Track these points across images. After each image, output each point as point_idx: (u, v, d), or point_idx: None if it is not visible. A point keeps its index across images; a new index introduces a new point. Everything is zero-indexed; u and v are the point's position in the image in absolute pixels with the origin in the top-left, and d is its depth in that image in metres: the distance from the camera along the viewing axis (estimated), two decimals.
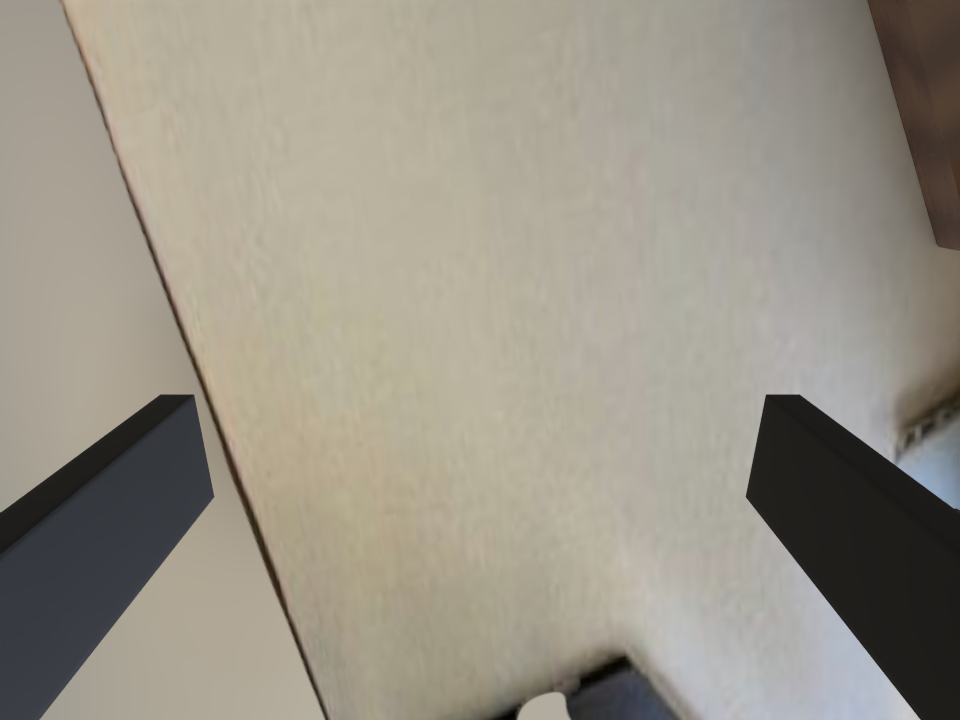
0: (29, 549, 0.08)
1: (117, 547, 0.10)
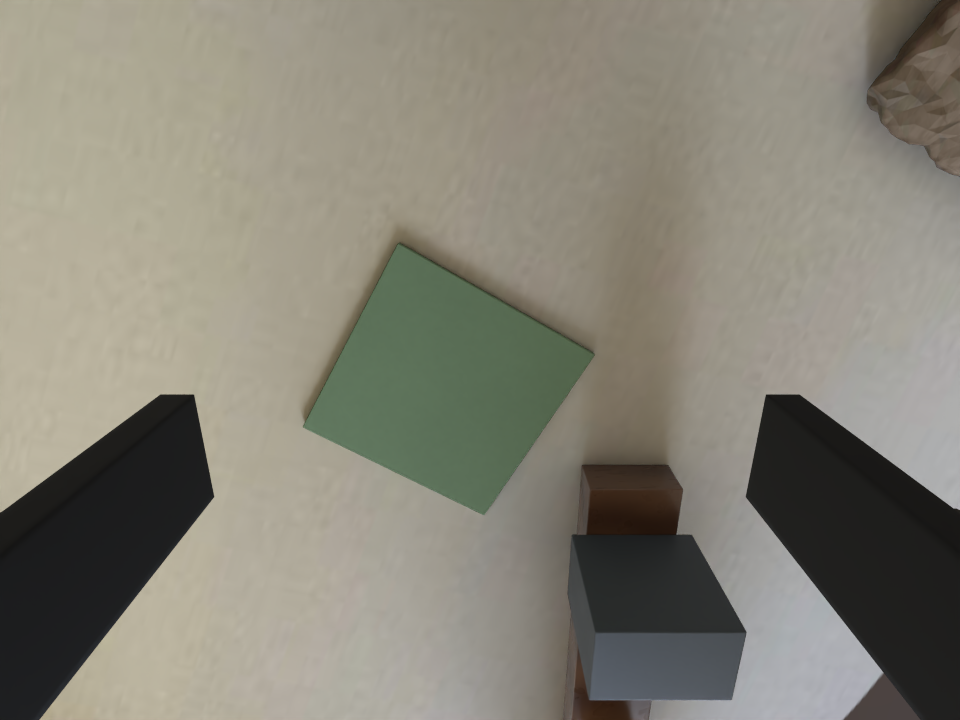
0: (29, 549, 0.08)
1: (117, 547, 0.10)
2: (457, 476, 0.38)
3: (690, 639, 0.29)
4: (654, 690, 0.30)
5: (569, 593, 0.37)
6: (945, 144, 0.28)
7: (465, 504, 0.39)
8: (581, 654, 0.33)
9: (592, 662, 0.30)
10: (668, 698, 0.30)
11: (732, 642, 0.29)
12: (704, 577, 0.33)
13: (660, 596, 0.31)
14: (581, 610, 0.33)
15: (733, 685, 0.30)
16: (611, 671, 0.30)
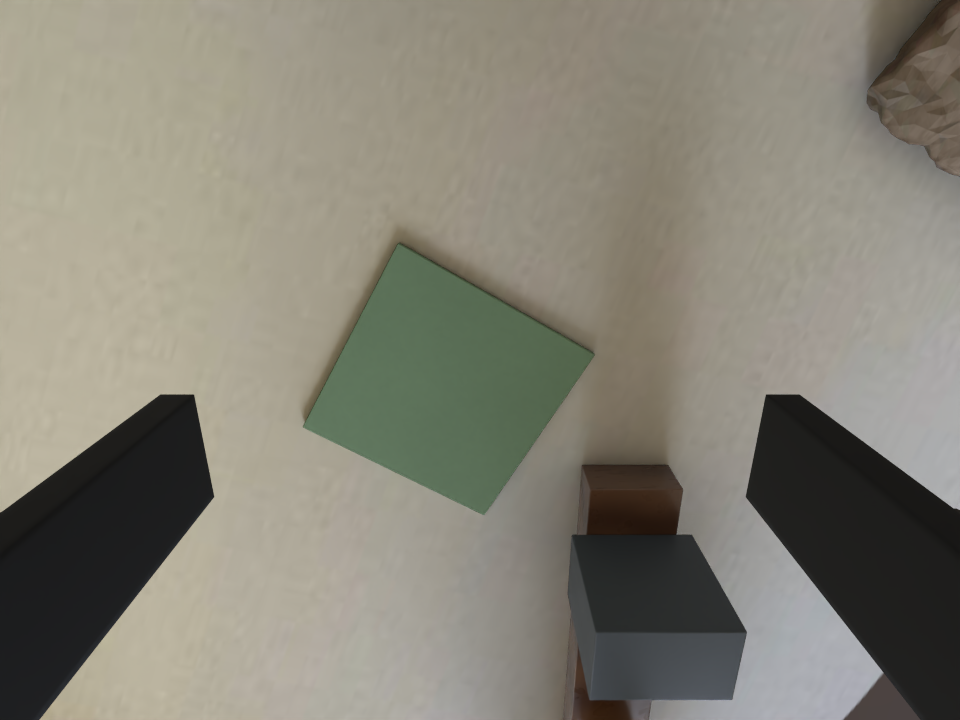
0: (29, 549, 0.08)
1: (117, 547, 0.10)
2: (457, 476, 0.38)
3: (691, 639, 0.29)
4: (654, 690, 0.30)
5: (569, 593, 0.37)
6: (945, 144, 0.28)
7: (465, 504, 0.39)
8: (581, 654, 0.33)
9: (592, 662, 0.30)
10: (668, 698, 0.30)
11: (732, 642, 0.29)
12: (704, 577, 0.33)
13: (660, 596, 0.31)
14: (581, 610, 0.33)
15: (733, 685, 0.30)
16: (611, 671, 0.30)
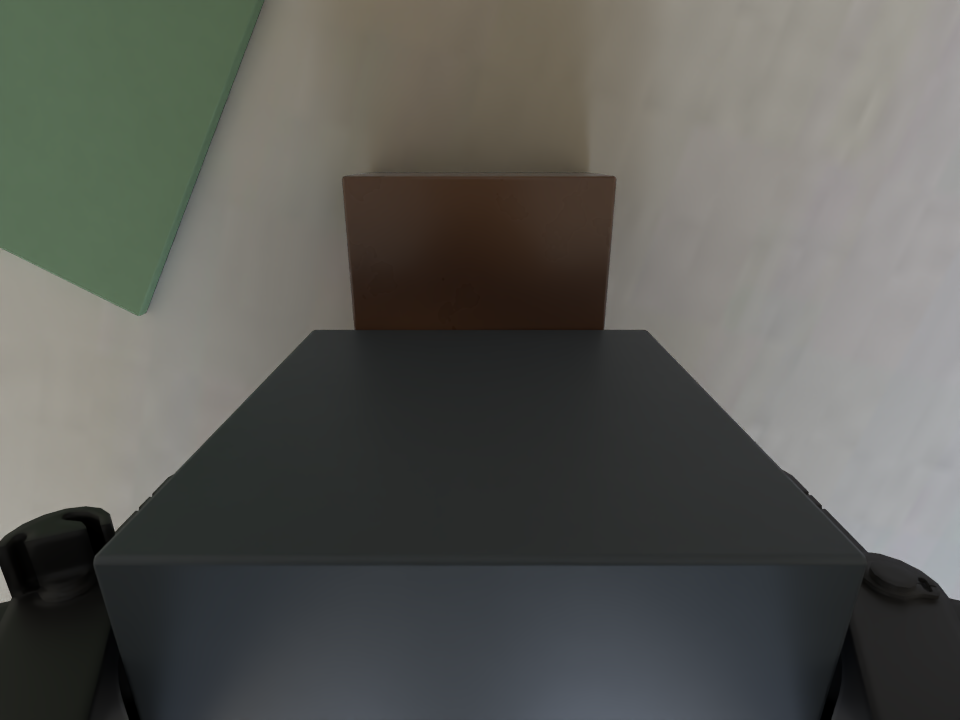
0: None
1: None
2: (43, 200, 0.15)
3: (583, 600, 0.06)
4: None
5: None
6: None
7: (84, 284, 0.15)
8: None
9: (137, 709, 0.06)
10: None
11: (793, 614, 0.06)
12: (672, 397, 0.09)
13: (493, 441, 0.08)
14: None
15: None
16: None
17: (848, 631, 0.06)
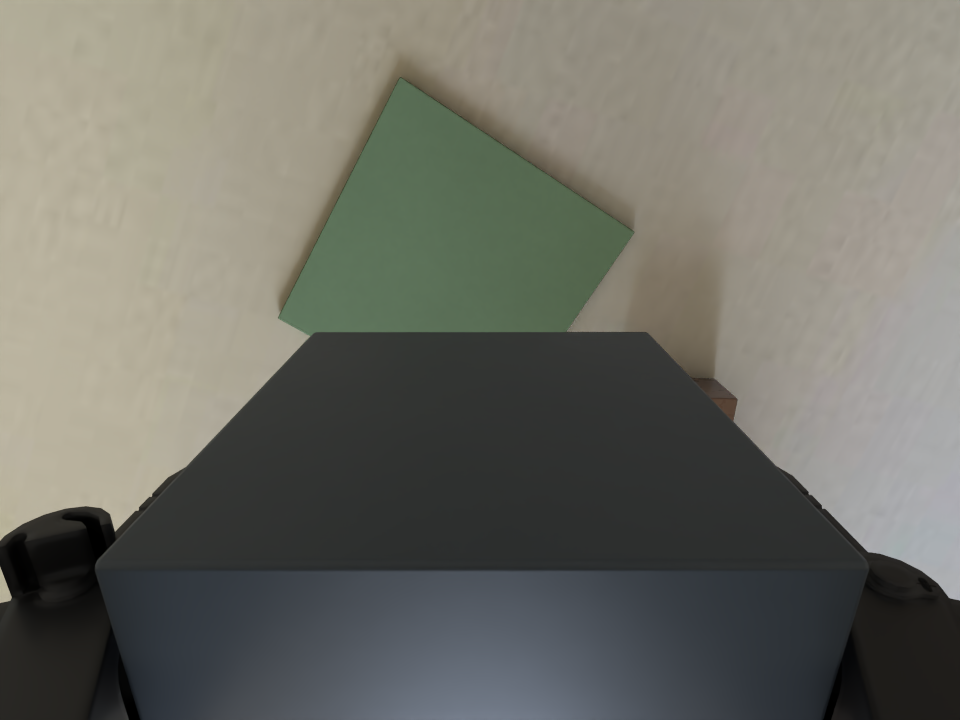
0: None
1: None
2: None
3: (585, 606, 0.06)
4: None
5: None
6: None
7: None
8: None
9: (138, 713, 0.06)
10: None
11: (796, 619, 0.06)
12: (674, 400, 0.09)
13: (494, 444, 0.08)
14: None
15: None
16: None
17: None
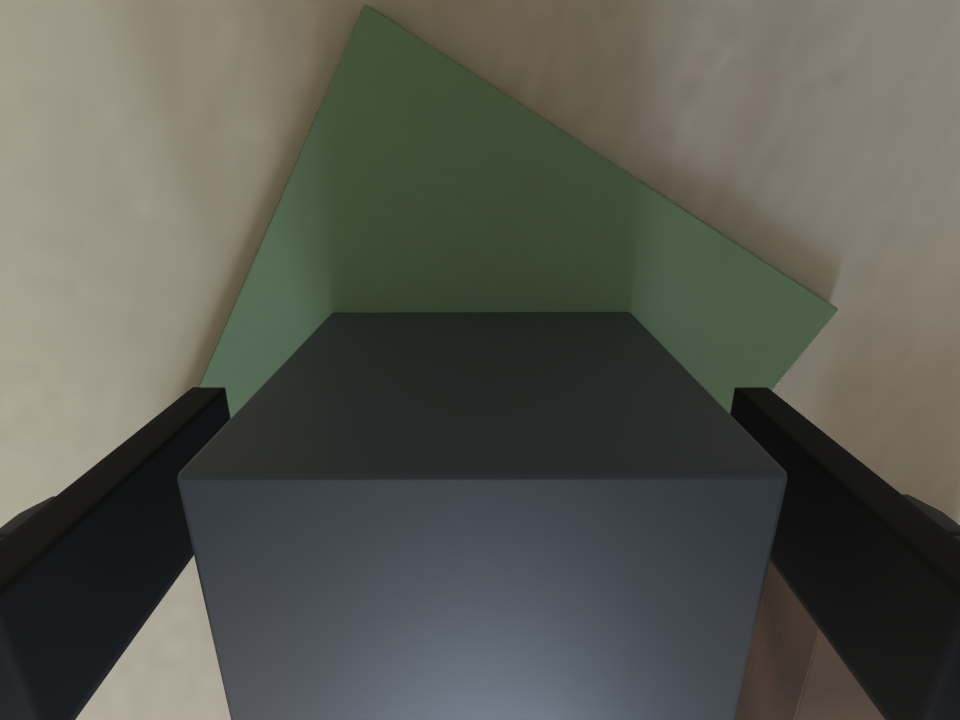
0: (85, 530, 0.08)
1: (159, 532, 0.10)
2: None
3: (563, 509, 0.07)
4: (455, 707, 0.09)
5: None
6: None
7: None
8: None
9: (205, 604, 0.08)
10: None
11: (731, 520, 0.07)
12: (647, 364, 0.11)
13: (492, 395, 0.09)
14: None
15: (735, 689, 0.08)
16: (281, 638, 0.08)
17: None
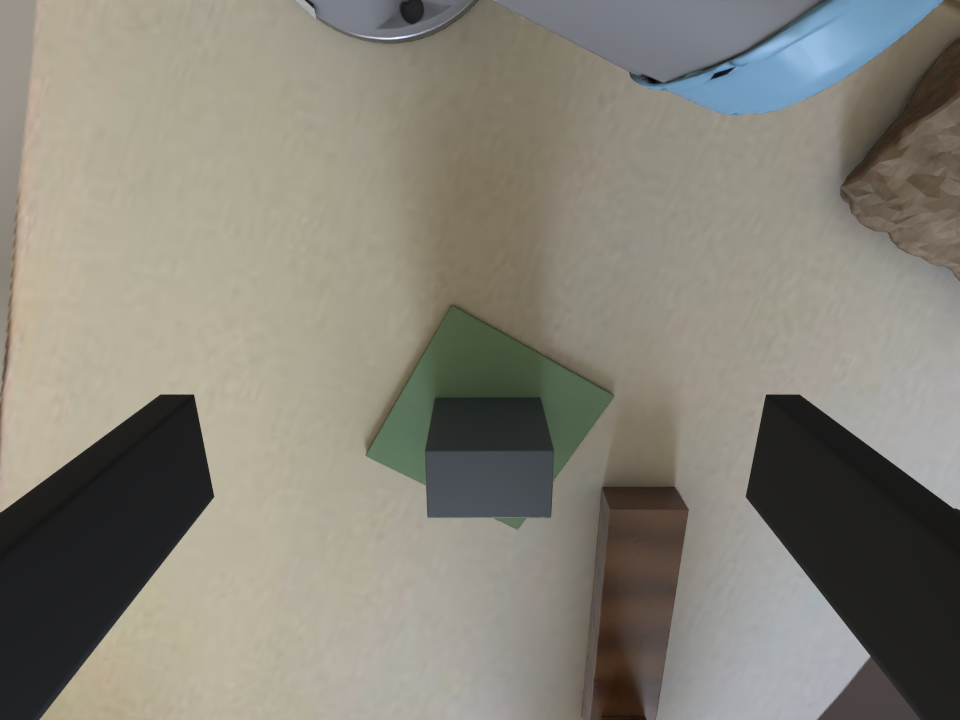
0: (29, 549, 0.08)
1: (117, 547, 0.10)
2: None
3: (507, 457, 0.34)
4: (482, 508, 0.35)
5: None
6: (903, 232, 0.35)
7: (501, 520, 0.45)
8: None
9: (426, 480, 0.34)
10: (495, 516, 0.35)
11: (543, 460, 0.34)
12: (536, 420, 0.37)
13: (491, 431, 0.36)
14: None
15: (550, 502, 0.35)
16: (442, 489, 0.35)
17: None
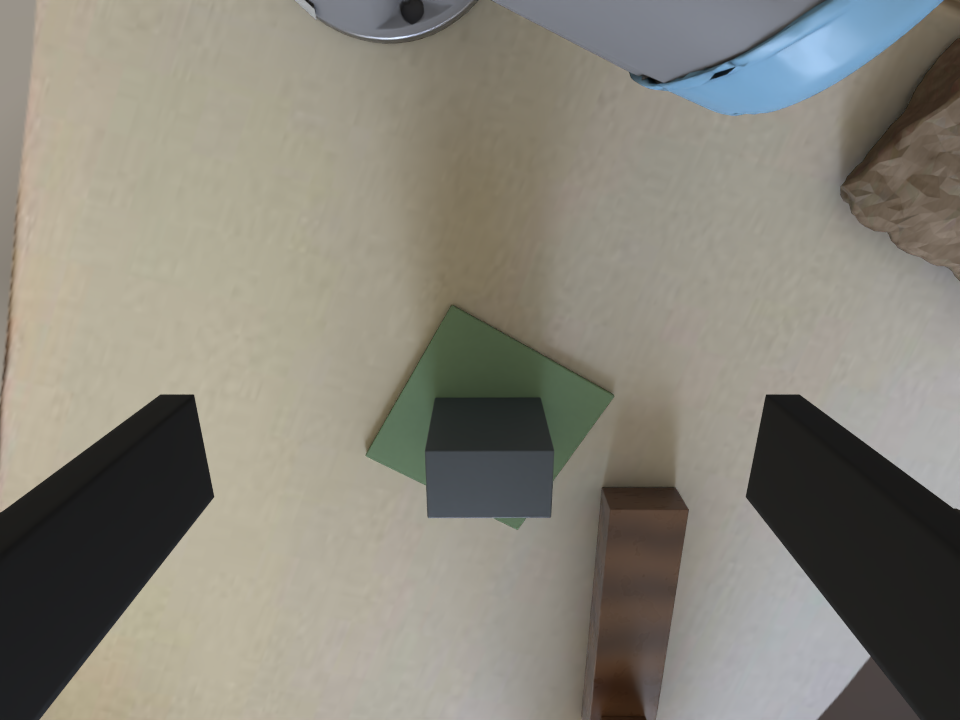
0: (29, 549, 0.08)
1: (117, 547, 0.10)
2: None
3: (507, 457, 0.34)
4: (482, 508, 0.35)
5: None
6: (903, 232, 0.35)
7: (501, 520, 0.45)
8: None
9: (426, 480, 0.34)
10: (495, 516, 0.35)
11: (543, 460, 0.34)
12: (536, 420, 0.37)
13: (491, 431, 0.36)
14: None
15: (550, 502, 0.35)
16: (442, 489, 0.35)
17: None
